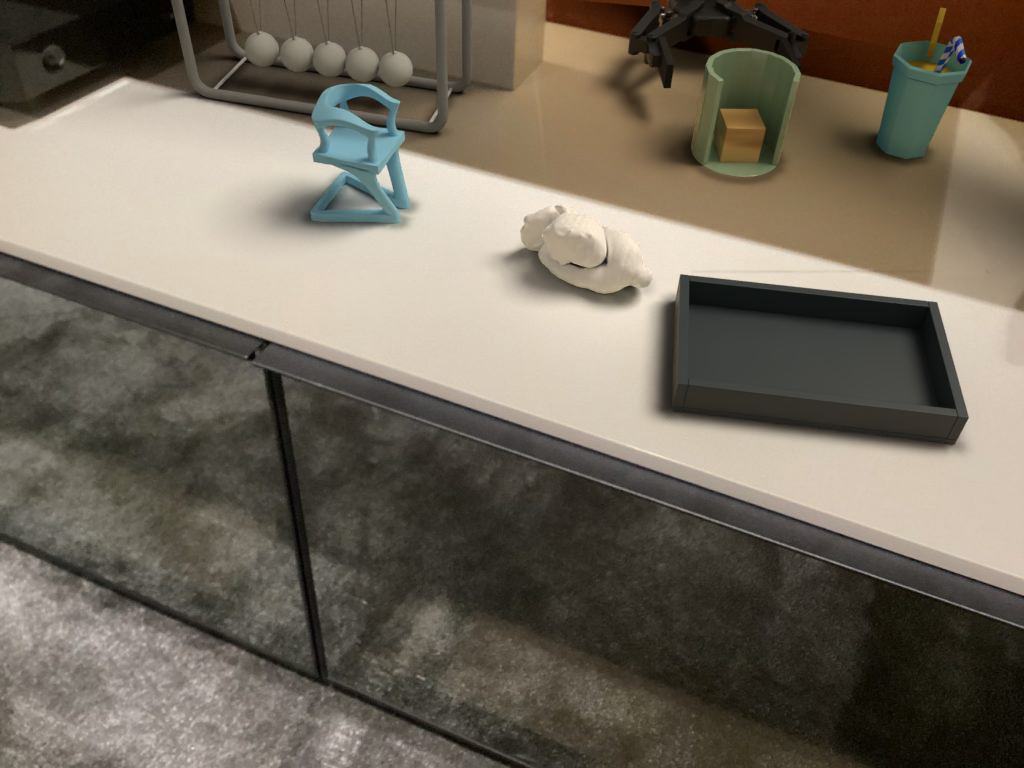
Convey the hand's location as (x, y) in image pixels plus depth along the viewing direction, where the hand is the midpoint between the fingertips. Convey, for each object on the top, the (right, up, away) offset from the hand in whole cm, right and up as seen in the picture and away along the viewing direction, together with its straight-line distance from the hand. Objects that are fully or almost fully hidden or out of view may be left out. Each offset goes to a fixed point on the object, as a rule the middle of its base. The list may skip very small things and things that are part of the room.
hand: (732, 77), depth 103 cm
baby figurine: (-17, -22, -15) cm, 32 cm away
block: (0, -8, -1) cm, 8 cm away
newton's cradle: (-44, 0, +7) cm, 44 cm away
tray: (+1, -31, -23) cm, 39 cm away
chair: (-38, -16, -9) cm, 42 cm away
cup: (+18, -8, +1) cm, 20 cm away
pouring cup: (0, -9, 0) cm, 9 cm away
